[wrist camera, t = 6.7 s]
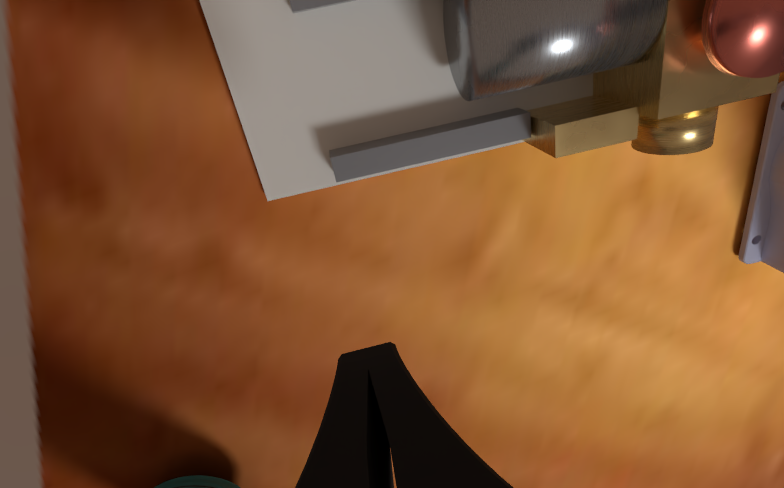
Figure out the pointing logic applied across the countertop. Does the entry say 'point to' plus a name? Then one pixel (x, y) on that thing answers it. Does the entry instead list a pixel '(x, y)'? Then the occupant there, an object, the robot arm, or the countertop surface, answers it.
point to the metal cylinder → (543, 40)
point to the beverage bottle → (197, 482)
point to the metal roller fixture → (357, 90)
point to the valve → (673, 82)
